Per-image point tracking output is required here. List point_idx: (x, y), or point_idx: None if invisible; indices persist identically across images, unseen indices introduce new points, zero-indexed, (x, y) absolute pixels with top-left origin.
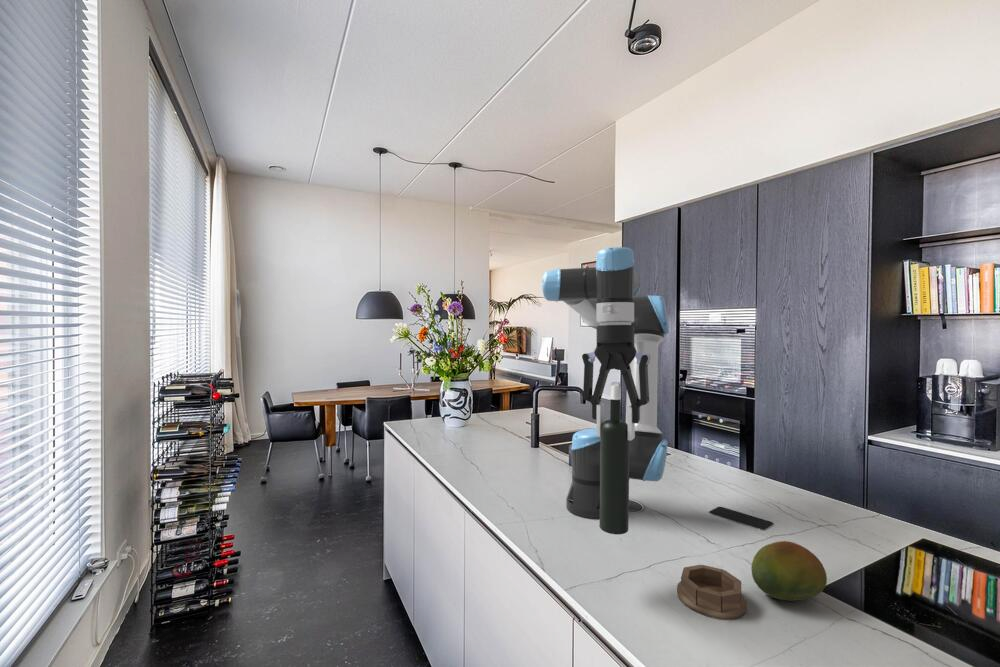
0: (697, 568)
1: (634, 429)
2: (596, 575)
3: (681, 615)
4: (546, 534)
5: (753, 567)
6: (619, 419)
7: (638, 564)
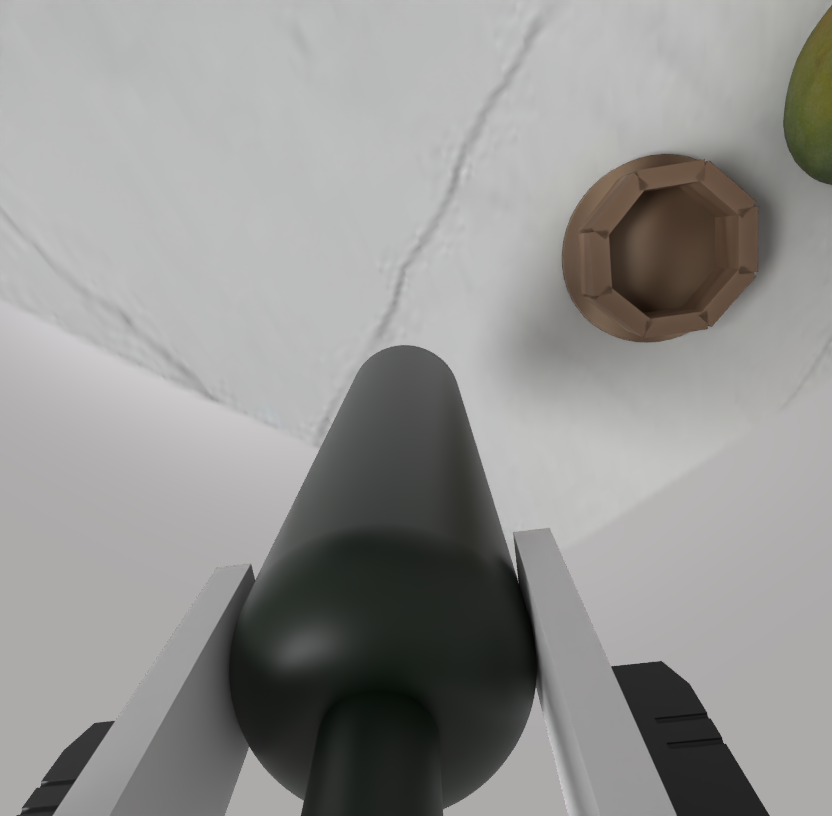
0: (628, 208)
1: (568, 576)
2: (347, 335)
3: (595, 374)
4: (72, 192)
5: (809, 125)
6: (440, 768)
7: (422, 191)
